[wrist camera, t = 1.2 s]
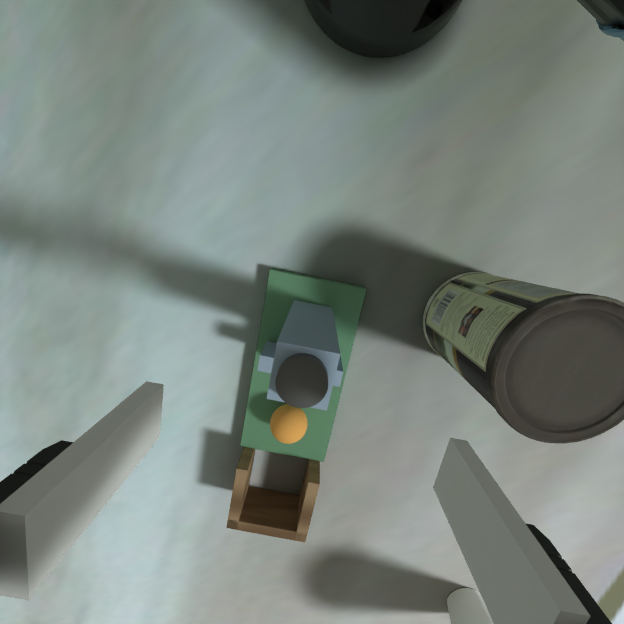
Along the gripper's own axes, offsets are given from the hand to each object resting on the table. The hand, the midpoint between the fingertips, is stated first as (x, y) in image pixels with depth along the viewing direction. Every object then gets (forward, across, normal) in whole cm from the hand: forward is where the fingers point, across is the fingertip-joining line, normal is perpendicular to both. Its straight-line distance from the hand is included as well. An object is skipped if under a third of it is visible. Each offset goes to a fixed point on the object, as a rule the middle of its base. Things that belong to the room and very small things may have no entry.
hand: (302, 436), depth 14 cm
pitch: (+20, 0, -6) cm, 21 cm away
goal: (+20, -1, -20) cm, 29 cm away
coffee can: (+21, +17, +3) cm, 27 cm away
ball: (+17, 0, -11) cm, 20 cm away
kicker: (+19, 0, -1) cm, 19 cm away
